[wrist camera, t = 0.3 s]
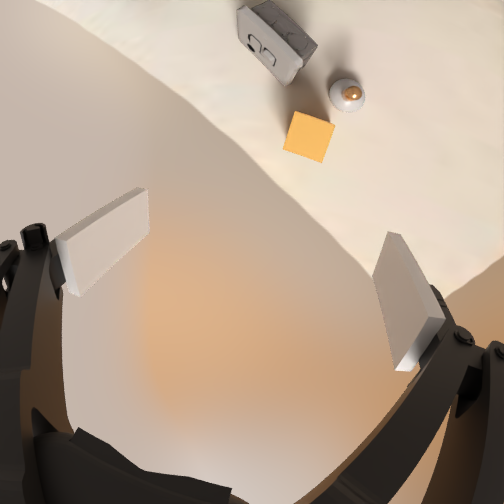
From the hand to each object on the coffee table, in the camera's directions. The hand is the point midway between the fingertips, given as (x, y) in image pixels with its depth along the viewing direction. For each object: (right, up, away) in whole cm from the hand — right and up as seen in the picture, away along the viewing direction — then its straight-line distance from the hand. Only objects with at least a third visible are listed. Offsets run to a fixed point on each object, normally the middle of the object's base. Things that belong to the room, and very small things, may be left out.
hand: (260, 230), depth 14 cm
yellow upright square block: (+7, +14, +19) cm, 24 cm away
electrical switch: (+3, +25, +14) cm, 28 cm away
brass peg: (+11, +18, +14) cm, 25 cm away
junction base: (+11, +18, +15) cm, 26 cm away
